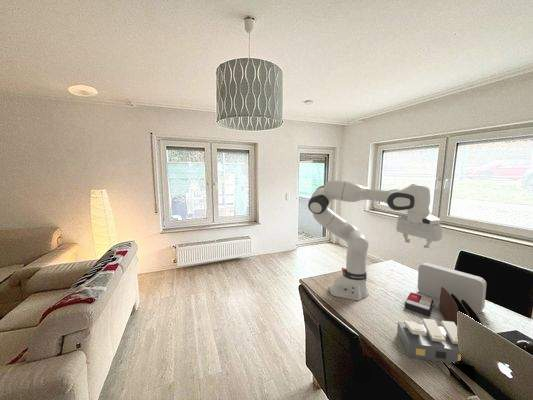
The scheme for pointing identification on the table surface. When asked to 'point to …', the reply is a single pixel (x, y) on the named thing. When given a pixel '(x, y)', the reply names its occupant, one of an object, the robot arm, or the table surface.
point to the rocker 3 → (450, 330)
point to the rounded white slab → (452, 285)
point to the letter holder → (454, 307)
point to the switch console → (428, 345)
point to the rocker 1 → (414, 328)
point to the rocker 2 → (433, 330)
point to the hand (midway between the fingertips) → (416, 244)
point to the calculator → (419, 304)
